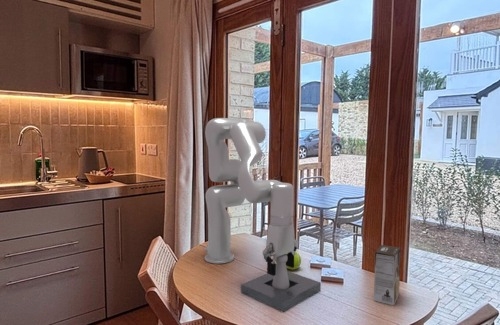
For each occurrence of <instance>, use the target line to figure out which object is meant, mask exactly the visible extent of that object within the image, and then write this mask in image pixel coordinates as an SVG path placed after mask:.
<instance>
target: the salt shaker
mask: <svg viewBox="0 0 500 325" xmlns="http://www.w3.org/2000/svg"><path fill="white" fill-rule="evenodd" d="M287 259H288V257H287V255H286V254H284V255H282V256H279V257H277V258H276V261H275V262H276V263H275V264H276V275H275V276H274V277H273V283H272V287H274V288H276V289H279V290H281V291H284V290H286V289H288V288H289V279H288V274H287V271H288V270H287V269H288V268H287V267H286V262H287Z"/></svg>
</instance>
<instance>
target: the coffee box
mask: <svg viewBox="0 0 500 325" xmlns="http://www.w3.org/2000/svg"><path fill="white" fill-rule="evenodd" d="M401 250H402V248H401V247H398V246H397V247H396V246H390V245H385V244H380V245H379V246H378V248H377V249H376V250H375V251H374V253H375V254H374V282H373V283H374V286H373V287H374V288H373V301H374V302H377V303H378V302H379V303H383V304H386V305H390V306H395V305H396V303H397V300H398V298H399V296H400V285H401V284H400V279H401V277H400V276H401V274H400V273H401Z"/></svg>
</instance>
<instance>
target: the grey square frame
mask: <svg viewBox="0 0 500 325" xmlns="http://www.w3.org/2000/svg"><path fill="white" fill-rule="evenodd" d="M287 274H288V279H289V288H288V289H286V290H284V291H281V290H279V289H276V288H274V287H272V283H273V277H274V276H273V275H270V274H268V273H267V272H266V273H264V274H263V275H261V276H258V277H255V278H252V279H250V280H248V281H246V282H243V283H241V284H240V285H241V286H240V293H241V294H243V295H245V296H247V297H249V298H251V299H254V300H255V301H258V302H259V303H262V304H265V305H267V306H268V307H271V308H273V309H276V310H278V311H280V312H282V313H284V312H286V311H288V310H289V309H291V308H293V307H295V306H296V305H298V304H300V303H301V302H303V301H305V300H307V299H309V298H311V297H312V296H315V295H316V294H318V293H319V292H321V288H322V287H321V286H322V285H321V284H322V283H321V281H318V280H315V279H312V278H308V277H306V276H303V275H300V274H298V273H295V272H292V271H289V270H287Z"/></svg>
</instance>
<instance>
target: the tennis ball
mask: <svg viewBox="0 0 500 325" xmlns="http://www.w3.org/2000/svg"><path fill="white" fill-rule="evenodd" d="M295 253H296V254H295V256H294V267H293V268H292V267H289V266H286V268H287V269H288V270H293V271H294V270H297V269H298V268H299V267H301V265H302V257H301V256H300V254H299V253H298V252H295Z"/></svg>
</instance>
